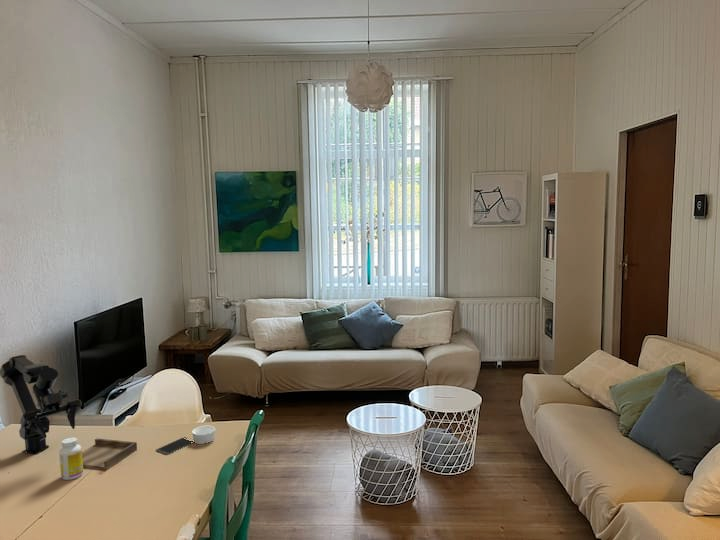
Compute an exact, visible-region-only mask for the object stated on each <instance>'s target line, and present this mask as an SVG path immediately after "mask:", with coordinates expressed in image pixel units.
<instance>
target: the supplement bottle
mask: <svg viewBox="0 0 720 540" xmlns="http://www.w3.org/2000/svg"><path fill="white" fill-rule="evenodd" d="M58 452H59V453H58V454H59V465H60V476H61V479H62V480H65V481H70V480H71V481H72V480H74V479H78V478H79V477H81V476H82V475H83V474H84V467H83V463H82V452H83V451H82V446H81V445H80V444H78V438H77V437H73V436H72V437H69V438H65V439H62V441H61V448H60V449H59V451H58Z"/></svg>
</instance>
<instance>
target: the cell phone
mask: <svg viewBox="0 0 720 540" xmlns="http://www.w3.org/2000/svg"><path fill="white" fill-rule="evenodd" d="M183 437H184V438H186V437H187V436H183ZM183 437H181V438H179V439H176V440H174V441H172V442H170V443H167V444H165V445H163V446H161V447H159V448H156V450H155V452H156V451H157V452H156V453H159V452H160V453H159V454H162V455H164V454H165V455H164V456H168V455H171V454H173V453H175V452H177V451H176V450H178V451H179V449H180V450H182V449H184V448H186V447H188V446H190V445H192V444H191V442H193V441H189V440H186V439H187V438H188V437H187V438H186V439H184V438H183ZM189 444H190V445H189ZM187 445H188V446H187ZM185 446H186V447H185ZM183 447H184V448H183ZM181 448H182V449H181ZM174 451H175V452H174Z"/></svg>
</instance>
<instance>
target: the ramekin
mask: <svg viewBox="0 0 720 540" xmlns="http://www.w3.org/2000/svg"><path fill="white" fill-rule="evenodd" d="M191 432H192V433H191V434H192V437H193V438H192V439H193V440H194V443H195V444H196V443H198V444H197V445H205V444H204V443H207V444H209V443H208V442H210V443H212V442H213V441H214V440H215V438H216V437H215V436H216V435H215V434H216V427H214V426H213V425H201V426H198V427H195V428H194V429H192V431H191ZM211 441H212V442H211Z"/></svg>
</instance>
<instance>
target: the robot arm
mask: <svg viewBox="0 0 720 540" xmlns="http://www.w3.org/2000/svg"><path fill="white" fill-rule="evenodd" d="M58 376H59V372H58V371H57V370H56V369H55V368H53V367H50V366H49V364H48V365H45V364H42V363H41V364H40V363H39V364H37V363H34V362H33V361H31V360H30V359H28V358H27V356H26V355H25V354H20V355H15V356H12V357H9V359H8V361H6V362H5V363H3V364H2V365H1V366H0V378H1V379H2V380H3V382H4V384H6V385H8V386H11V388H12V391H13V392H14V396H15V397H16V400H17V402H18V405H19V408H20V410H21V412H22V416H21V418H20V421H19V422H20V428H19V431H18V433H19V437H20V438H22V439H23V440H24V445H25V449H24V450H22V451H21V452H27V453H26V454H30V453H34V454H33V455H36V453H37V454H38V452H39V453H41V452H42V451H44V450H46V449H48V448H49V447H50V445H47V442H46V441H47V440H46V438H47V434H48V433H49V432H50V422H51V420H50V419H49V417H50V416H53V415H56V414H60V413H66V414H67V415H66V418H67V420H68V423H69V425H70V427H71V429H72V430H74V429H75V428H76V424H75V423H76V414H77V413H78V412H79V411H80V409H81V407H82V405H83V402H82V401H81V399H79V398H76V399H72V400H68V401H67V403H66V404H65V405H62V402H63V401H64V399H67V398H68V397H69V394H68V392H67V389H66V388H64V389H60V390H58V392H55V391H54V389H53V387H54V385H55V383H56V380H57V379H58ZM30 384H31V385H32V384H33V386H32V388H31V389H32V394H34V396H35V399H36V402H37V404H36V403H35V400H34V399H33V396H32V394H31V392H30V389H29V387H28V385H30ZM61 405H62V406H61ZM37 407H38V408H37Z"/></svg>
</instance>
